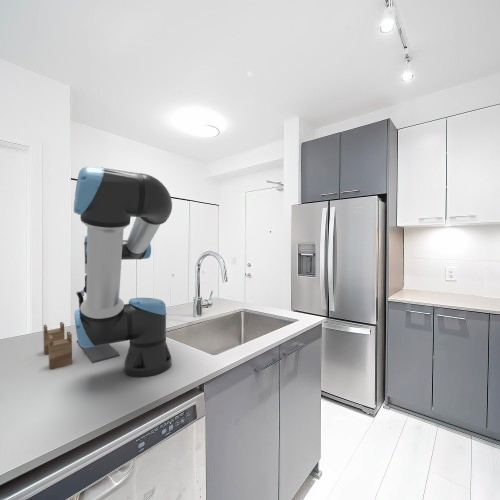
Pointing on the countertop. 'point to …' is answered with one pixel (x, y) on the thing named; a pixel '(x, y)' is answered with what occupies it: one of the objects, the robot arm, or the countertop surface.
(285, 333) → the countertop surface
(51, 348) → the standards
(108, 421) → the countertop surface
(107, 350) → the mat
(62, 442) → the countertop surface
